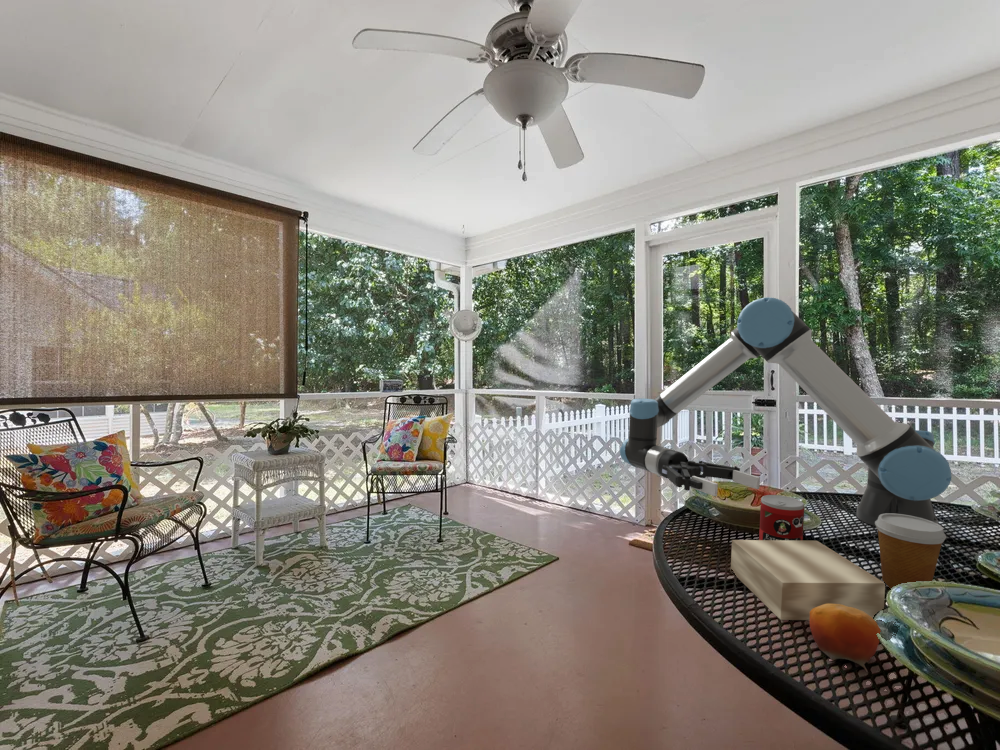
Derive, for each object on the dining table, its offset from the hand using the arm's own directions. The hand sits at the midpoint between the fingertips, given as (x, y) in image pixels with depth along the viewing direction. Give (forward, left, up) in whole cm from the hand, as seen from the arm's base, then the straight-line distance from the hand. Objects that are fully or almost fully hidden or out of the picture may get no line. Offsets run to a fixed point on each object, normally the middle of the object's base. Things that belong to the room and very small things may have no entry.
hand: (738, 486), depth 107 cm
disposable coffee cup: (-19, +23, -11) cm, 32 cm away
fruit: (+5, +41, -11) cm, 43 cm away
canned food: (-5, +9, -11) cm, 15 cm away
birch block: (+1, +25, -11) cm, 27 cm away
